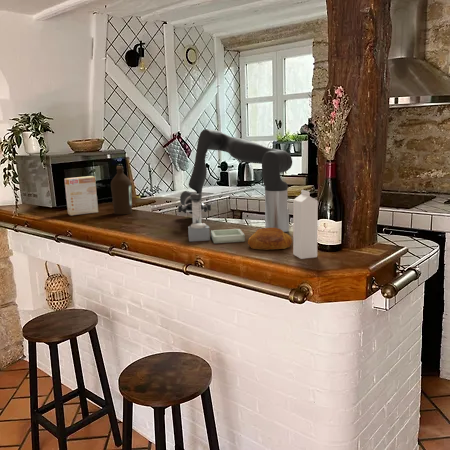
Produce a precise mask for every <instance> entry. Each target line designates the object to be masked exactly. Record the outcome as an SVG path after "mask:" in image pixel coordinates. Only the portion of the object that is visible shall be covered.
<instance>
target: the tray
mask: <svg viewBox="0 0 450 450" xmlns="http://www.w3.org/2000/svg"><path fill="white" fill-rule="evenodd" d="M209 231H210V239H211V240H212V243H213V244H225V243H227V244H228V243H241V242H243V243H244V242H246V235H245V233H244V232H243V231H242V229H240V228H229V229H214V230H212V229H211V230H210V229H209Z"/></svg>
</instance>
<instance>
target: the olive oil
mask: <svg viewBox="0 0 450 450" xmlns="http://www.w3.org/2000/svg"><path fill="white" fill-rule="evenodd" d="M110 190H111V197H112V198H111V199H112V204H113V214H114V215H118V216H119V215H130V214H133V206H132V205H133V201H132V199H133V198H132V197H133V196H132V195H133V193H132V182H131V179H130V178H129V177H128V176H127V175H126V174H125V173H124V166H123V165H117V166H116V174H115V175H114V177H113V178H112V179H111V181H110Z"/></svg>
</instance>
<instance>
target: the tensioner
mask: <svg viewBox="0 0 450 450" xmlns="http://www.w3.org/2000/svg"><path fill="white" fill-rule="evenodd" d="M187 228H188V230H187V231H188V232H187V233H188V234H187V235H188V241H189V242H202V241H211V231H210V226H209V225H208V224H207V223H205V222H203V223H194V224H193V223H191V224H190V225H189V226H187Z"/></svg>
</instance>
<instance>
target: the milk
mask: <svg viewBox="0 0 450 450" xmlns="http://www.w3.org/2000/svg"><path fill="white" fill-rule="evenodd" d="M300 191H301V193H300V194H299V195H298V196H296V197H295V198H294V199H292V201H293V204H292V205H293V208H292V209H293V216H292V217H293V219H292V221H293V223H292V224H293V229H292V230H293V234H292V235H293V237H292V243H293V244H292V245H293V246H292V247H293V249H292V250H293V251H292V252H293V253H292V254H293V256H295V257H297V258H299V259H300V260H305V259H314V258H317V257H318V224H319V223H318V210H319V209H318V208H319V205H318V204H319V201H318V200H317V199H315V198H314V197H312V196H310V194H311V193H310V191H308V190H306V189H305V190H304V189H301V190H300Z"/></svg>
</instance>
